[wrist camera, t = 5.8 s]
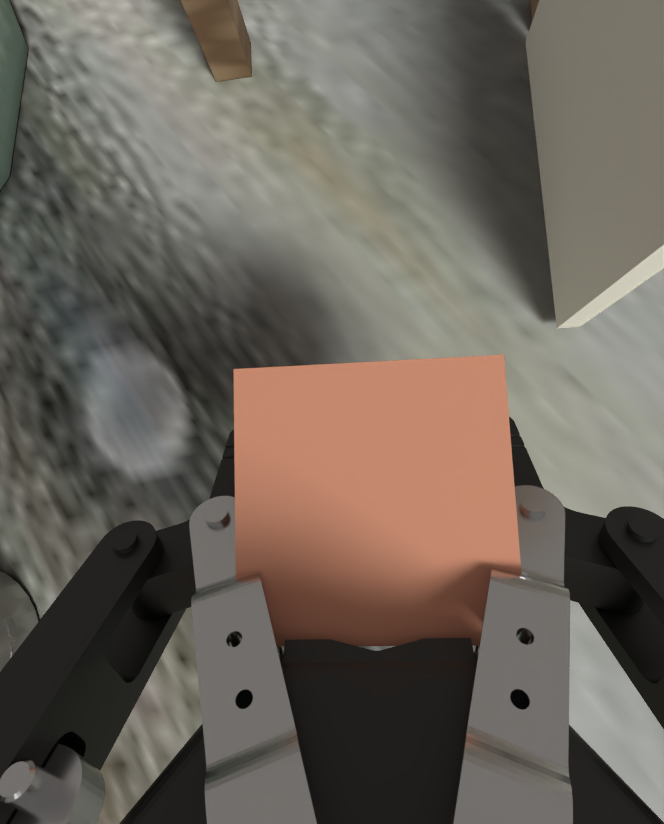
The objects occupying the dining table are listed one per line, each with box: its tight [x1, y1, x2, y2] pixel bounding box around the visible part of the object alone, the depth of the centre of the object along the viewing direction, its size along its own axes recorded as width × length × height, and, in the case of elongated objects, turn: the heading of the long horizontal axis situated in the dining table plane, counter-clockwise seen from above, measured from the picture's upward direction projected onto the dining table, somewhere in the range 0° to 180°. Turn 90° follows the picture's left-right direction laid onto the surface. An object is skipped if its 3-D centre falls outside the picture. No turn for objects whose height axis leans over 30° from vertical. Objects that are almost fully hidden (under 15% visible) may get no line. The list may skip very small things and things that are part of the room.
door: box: [526, 0, 664, 328], centre depth 18 cm, size 17×2×15 cm, turn 3°
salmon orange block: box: [234, 355, 522, 646], centre depth 13 cm, size 5×5×10 cm
